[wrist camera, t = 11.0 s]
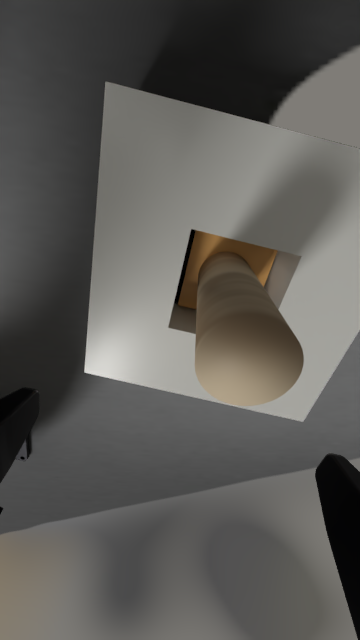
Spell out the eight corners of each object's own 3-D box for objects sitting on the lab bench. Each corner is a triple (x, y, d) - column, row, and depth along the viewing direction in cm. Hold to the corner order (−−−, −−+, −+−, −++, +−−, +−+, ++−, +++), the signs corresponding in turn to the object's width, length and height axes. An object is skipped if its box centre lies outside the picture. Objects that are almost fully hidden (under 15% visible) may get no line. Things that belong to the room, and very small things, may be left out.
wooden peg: (241, 307, 19) (278, 414, 10) (192, 296, 19) (184, 393, 10) (259, 258, 17) (323, 332, 8) (205, 245, 17) (210, 306, 8)
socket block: (286, 385, 22) (303, 421, 19) (103, 342, 22) (84, 372, 18) (396, 177, 15) (455, 173, 12) (128, 107, 15) (105, 81, 11)
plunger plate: (248, 317, 20) (249, 322, 19) (178, 300, 20) (177, 305, 19) (275, 246, 17) (278, 248, 17) (196, 227, 17) (196, 228, 17)
